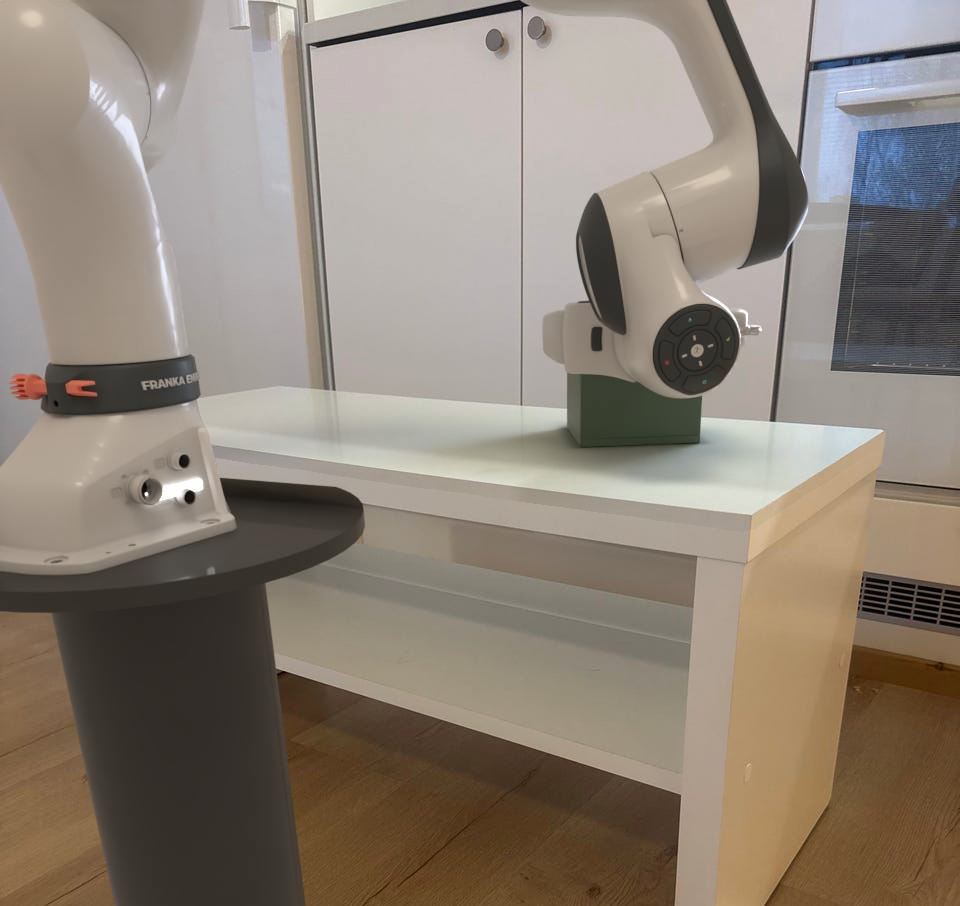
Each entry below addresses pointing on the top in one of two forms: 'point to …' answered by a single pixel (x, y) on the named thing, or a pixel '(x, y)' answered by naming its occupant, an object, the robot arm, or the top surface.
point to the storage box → (628, 413)
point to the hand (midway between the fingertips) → (631, 326)
